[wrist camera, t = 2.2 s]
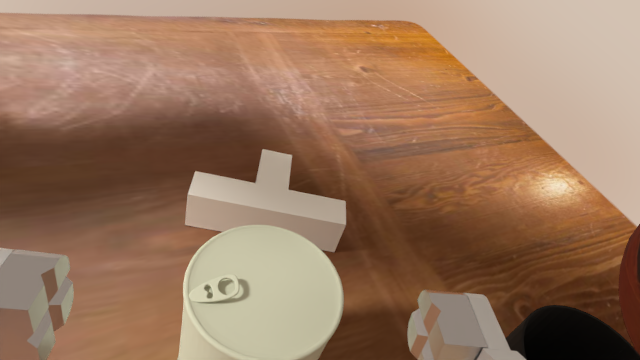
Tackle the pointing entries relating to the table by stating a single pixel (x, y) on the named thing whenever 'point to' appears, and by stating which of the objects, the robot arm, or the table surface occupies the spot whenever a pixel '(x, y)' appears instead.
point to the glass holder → (568, 337)
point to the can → (259, 297)
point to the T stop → (265, 204)
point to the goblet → (631, 288)
